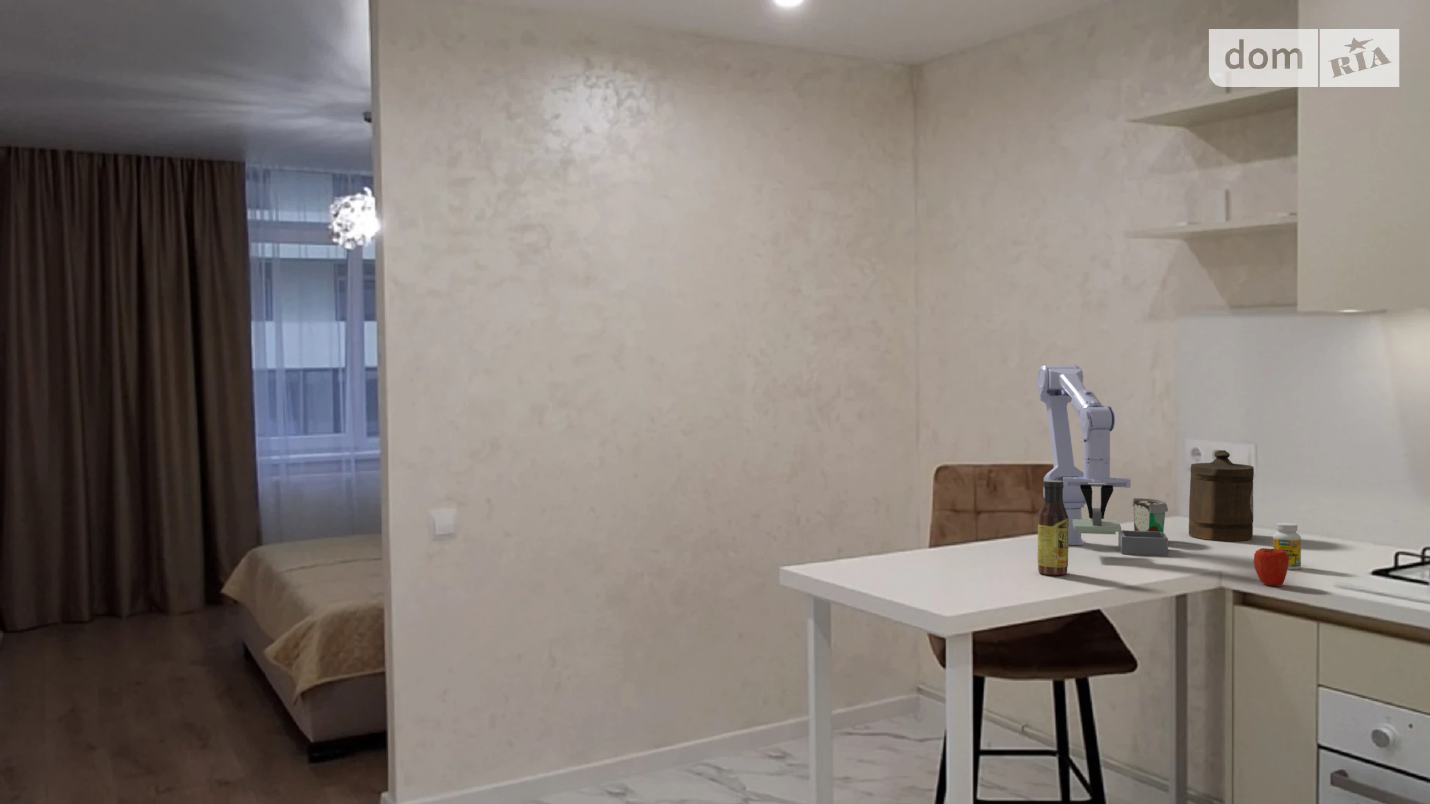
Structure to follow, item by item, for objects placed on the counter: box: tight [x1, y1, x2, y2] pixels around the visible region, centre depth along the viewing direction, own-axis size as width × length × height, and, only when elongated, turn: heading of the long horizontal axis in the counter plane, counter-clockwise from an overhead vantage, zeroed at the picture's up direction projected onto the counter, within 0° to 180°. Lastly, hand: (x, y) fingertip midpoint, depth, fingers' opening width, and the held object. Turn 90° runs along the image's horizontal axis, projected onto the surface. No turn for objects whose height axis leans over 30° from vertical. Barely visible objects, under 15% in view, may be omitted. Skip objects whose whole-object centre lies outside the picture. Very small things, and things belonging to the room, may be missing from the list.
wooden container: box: [1188, 449, 1255, 542], centre depth 280 cm, size 15×15×22 cm
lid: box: [1073, 507, 1122, 535], centre depth 254 cm, size 10×10×5 cm
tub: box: [1117, 529, 1169, 557], centre depth 261 cm, size 10×10×4 cm
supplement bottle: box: [1272, 522, 1302, 571], centre depth 240 cm, size 5×5×10 cm
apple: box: [1253, 547, 1289, 587], centre depth 223 cm, size 6×6×8 cm
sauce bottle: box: [1037, 480, 1069, 576], centre depth 236 cm, size 7×6×20 cm
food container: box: [1132, 497, 1169, 533], centre depth 275 cm, size 12×6×10 cm, turn 179°
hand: (1096, 518), depth 254 cm, fingers closed on lid
